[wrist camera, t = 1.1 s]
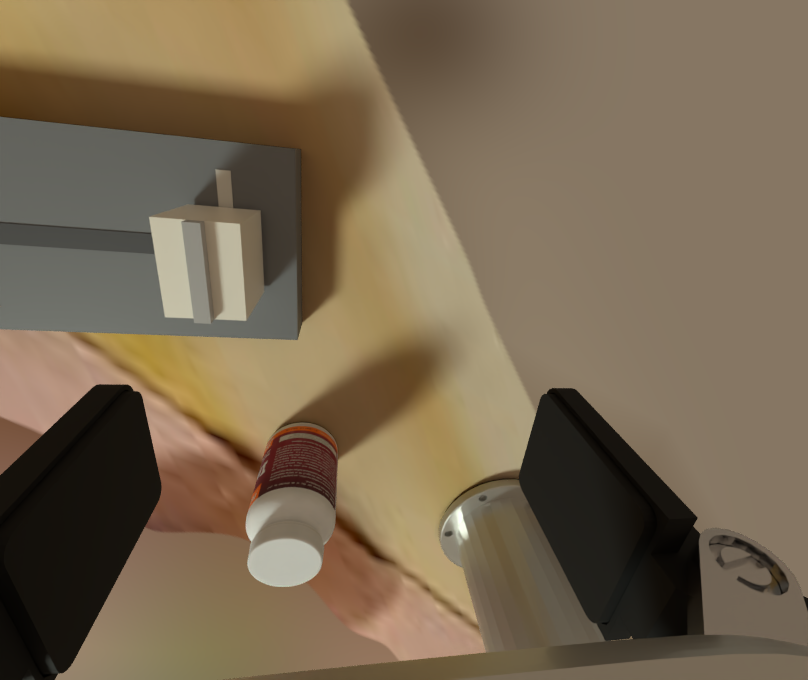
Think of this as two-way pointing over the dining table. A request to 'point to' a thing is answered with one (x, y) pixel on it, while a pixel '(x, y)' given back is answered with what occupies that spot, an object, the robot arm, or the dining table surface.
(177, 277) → the fader knob
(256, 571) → the pill bottle
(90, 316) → the fader console
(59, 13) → the dining table surface
